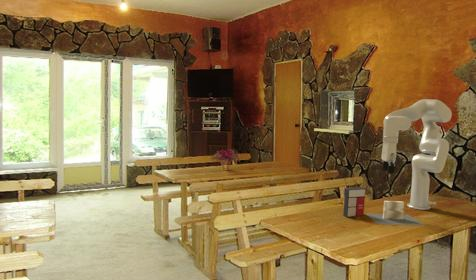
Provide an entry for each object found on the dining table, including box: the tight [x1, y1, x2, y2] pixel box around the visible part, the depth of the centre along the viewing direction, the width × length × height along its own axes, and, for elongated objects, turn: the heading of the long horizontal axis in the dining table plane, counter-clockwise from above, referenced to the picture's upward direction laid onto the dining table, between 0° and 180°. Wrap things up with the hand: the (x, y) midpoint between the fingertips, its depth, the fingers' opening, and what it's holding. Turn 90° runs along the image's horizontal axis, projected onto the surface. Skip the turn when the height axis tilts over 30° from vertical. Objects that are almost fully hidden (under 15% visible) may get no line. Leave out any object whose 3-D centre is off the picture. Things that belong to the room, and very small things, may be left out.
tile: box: [382, 200, 405, 219], centre depth 217 cm, size 10×2×9 cm, turn 91°
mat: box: [364, 212, 426, 226], centre depth 216 cm, size 24×19×1 cm
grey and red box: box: [342, 186, 366, 218], centre depth 221 cm, size 11×4×15 cm, turn 112°
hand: (388, 171), depth 222 cm, fingers open, 9 cm apart
